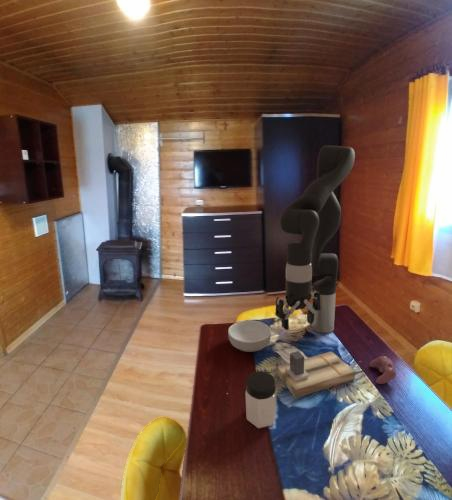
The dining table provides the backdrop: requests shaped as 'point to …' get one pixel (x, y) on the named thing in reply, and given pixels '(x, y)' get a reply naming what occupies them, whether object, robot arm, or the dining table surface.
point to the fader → (297, 366)
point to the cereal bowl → (249, 335)
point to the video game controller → (384, 369)
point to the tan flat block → (318, 374)
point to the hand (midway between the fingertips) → (297, 325)
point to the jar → (261, 399)
